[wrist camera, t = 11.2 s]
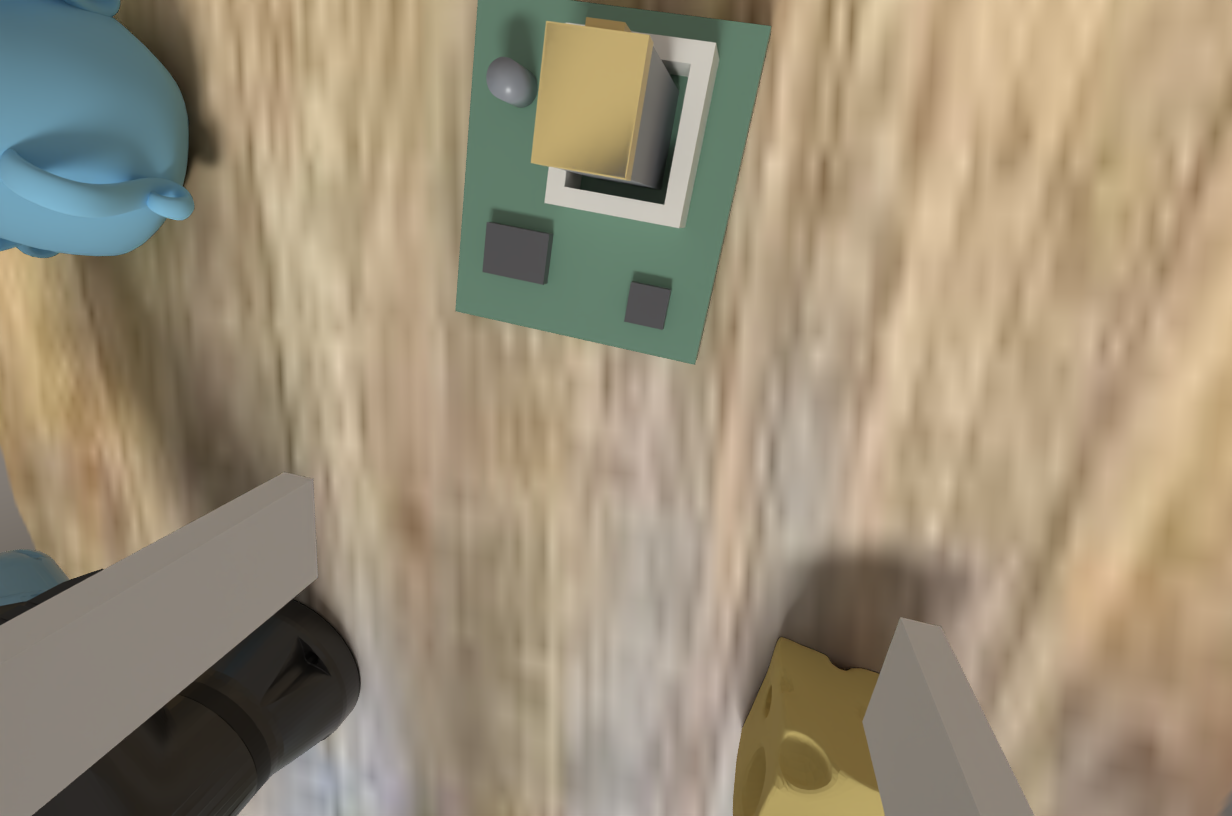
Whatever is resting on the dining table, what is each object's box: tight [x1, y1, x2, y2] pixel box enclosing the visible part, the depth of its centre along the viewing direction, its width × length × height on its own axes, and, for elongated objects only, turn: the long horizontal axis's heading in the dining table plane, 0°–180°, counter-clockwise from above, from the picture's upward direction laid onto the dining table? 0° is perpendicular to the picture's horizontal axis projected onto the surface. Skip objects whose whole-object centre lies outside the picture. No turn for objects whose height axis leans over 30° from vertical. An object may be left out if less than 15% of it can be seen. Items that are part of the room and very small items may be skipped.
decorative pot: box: [0, 0, 194, 258], centre depth 34 cm, size 16×16×14 cm
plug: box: [531, 17, 679, 190], centre depth 27 cm, size 4×6×10 cm
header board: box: [456, 0, 771, 365], centre depth 32 cm, size 16×18×4 cm
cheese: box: [733, 637, 885, 816], centre depth 38 cm, size 10×11×10 cm
